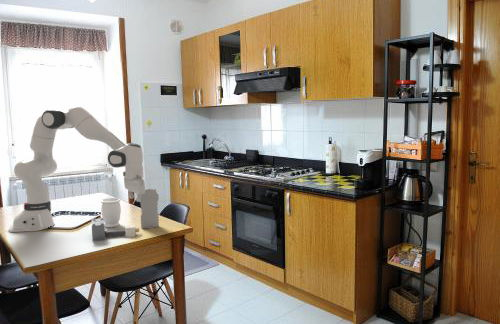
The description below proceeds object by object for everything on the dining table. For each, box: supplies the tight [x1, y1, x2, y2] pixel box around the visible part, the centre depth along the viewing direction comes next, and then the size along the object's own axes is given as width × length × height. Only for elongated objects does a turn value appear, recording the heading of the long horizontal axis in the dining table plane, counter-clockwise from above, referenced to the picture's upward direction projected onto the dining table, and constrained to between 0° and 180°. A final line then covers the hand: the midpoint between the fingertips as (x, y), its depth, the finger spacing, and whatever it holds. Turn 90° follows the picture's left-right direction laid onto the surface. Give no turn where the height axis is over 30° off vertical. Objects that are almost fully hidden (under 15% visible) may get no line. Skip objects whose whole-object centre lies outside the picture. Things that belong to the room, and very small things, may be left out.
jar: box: [100, 197, 122, 228], centre depth 222 cm, size 11×10×15 cm
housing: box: [91, 217, 106, 242], centre depth 202 cm, size 6×13×9 cm, turn 21°
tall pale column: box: [139, 188, 160, 230], centre depth 218 cm, size 11×4×22 cm, turn 116°
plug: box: [105, 224, 140, 238], centre depth 204 cm, size 19×4×4 cm, turn 105°
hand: (135, 199), depth 207 cm, fingers open, 8 cm apart
